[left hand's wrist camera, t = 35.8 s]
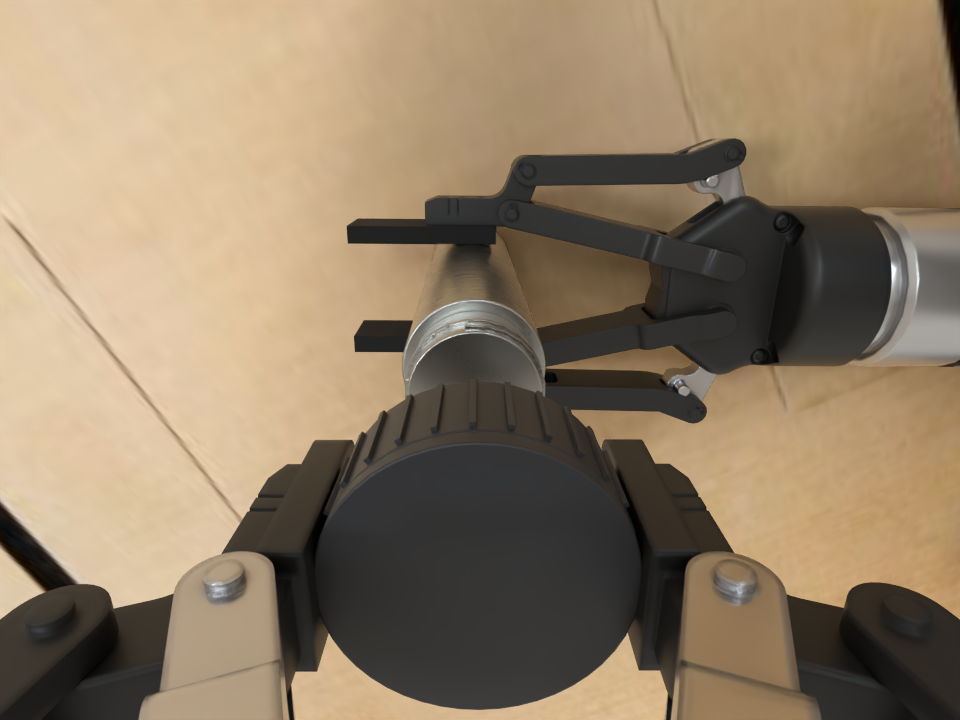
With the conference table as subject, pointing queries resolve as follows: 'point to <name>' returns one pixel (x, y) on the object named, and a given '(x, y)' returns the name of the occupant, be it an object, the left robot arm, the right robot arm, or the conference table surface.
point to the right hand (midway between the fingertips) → (357, 284)
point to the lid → (478, 549)
